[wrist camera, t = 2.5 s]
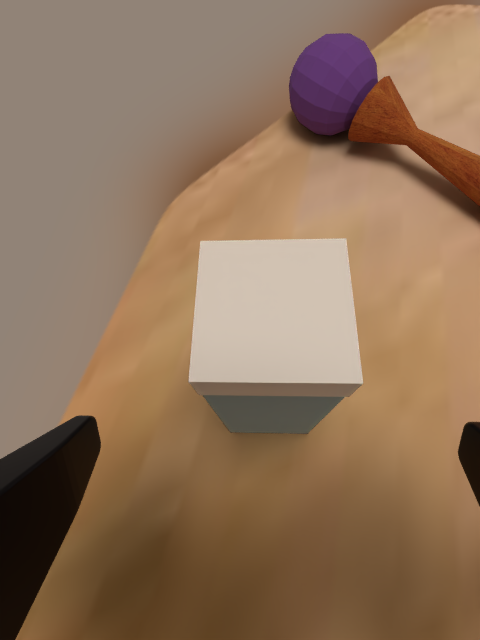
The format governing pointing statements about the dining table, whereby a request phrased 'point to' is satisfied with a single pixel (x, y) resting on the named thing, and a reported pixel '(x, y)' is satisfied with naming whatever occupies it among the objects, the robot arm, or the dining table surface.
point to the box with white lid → (274, 332)
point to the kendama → (368, 107)
